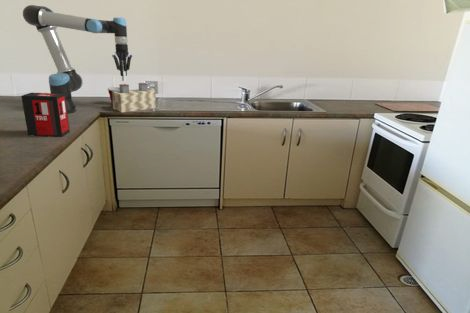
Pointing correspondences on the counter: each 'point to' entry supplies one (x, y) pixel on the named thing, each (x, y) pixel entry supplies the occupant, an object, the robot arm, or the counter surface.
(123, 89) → the peg near
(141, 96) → the collar block
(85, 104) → the counter surface
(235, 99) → the counter surface
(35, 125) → the cleaning product box
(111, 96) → the plastic cup
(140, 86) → the peg far
